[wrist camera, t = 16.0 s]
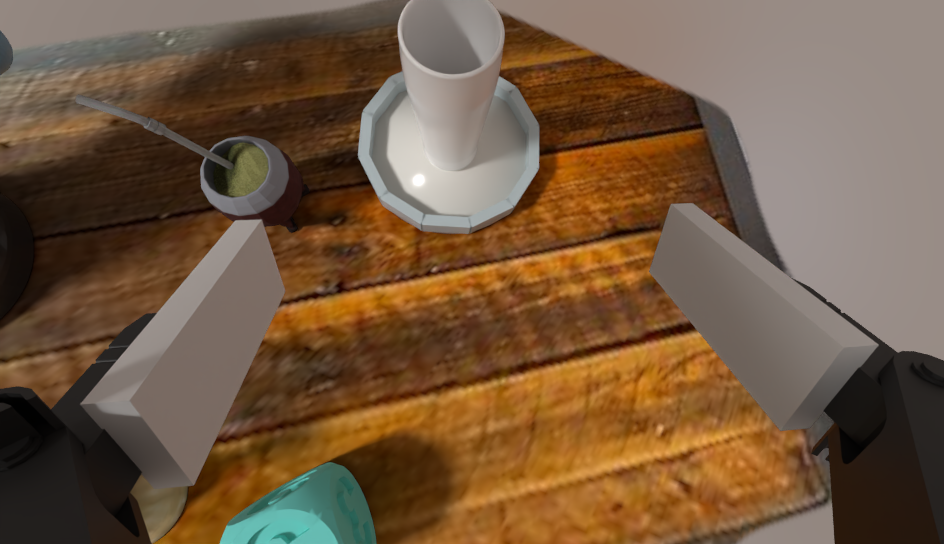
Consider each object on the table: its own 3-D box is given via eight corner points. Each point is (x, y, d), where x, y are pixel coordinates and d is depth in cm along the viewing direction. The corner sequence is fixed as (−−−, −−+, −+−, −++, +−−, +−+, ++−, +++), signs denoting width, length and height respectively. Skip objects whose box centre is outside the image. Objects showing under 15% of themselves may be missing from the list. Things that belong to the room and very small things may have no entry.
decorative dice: (293, 592, 32) (244, 672, 24) (256, 498, 33) (198, 545, 25) (384, 540, 33) (366, 600, 25) (345, 450, 34) (316, 482, 26)
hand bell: (205, 455, 33) (-5, 552, 18) (163, 561, 32) (-108, 771, 16) (109, 428, 33) (-188, 502, 18) (62, 534, 32) (-310, 718, 16)
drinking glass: (442, 104, 40) (439, -37, 25) (497, 141, 39) (527, 21, 25) (401, 154, 39) (372, 37, 24) (458, 193, 38) (464, 99, 23)
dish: (330, 173, 39) (322, 162, 36) (426, 49, 42) (425, 31, 39) (476, 266, 38) (478, 261, 36) (563, 133, 41) (570, 119, 39)
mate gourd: (330, 216, 38) (258, 134, 23) (254, 258, 37) (127, 200, 22) (292, 154, 39) (200, 37, 24) (216, 193, 38) (71, 95, 23)
